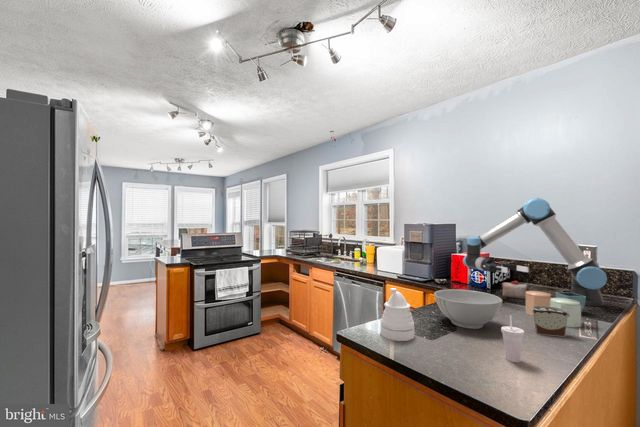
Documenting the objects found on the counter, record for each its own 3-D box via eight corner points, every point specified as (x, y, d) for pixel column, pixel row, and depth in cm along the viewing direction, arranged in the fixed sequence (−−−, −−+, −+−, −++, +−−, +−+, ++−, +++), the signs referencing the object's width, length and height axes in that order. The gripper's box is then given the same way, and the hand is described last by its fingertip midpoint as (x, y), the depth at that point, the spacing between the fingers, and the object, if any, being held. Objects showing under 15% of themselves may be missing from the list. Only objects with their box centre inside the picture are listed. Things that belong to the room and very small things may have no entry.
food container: (563, 332, 122) (562, 307, 122) (569, 337, 116) (569, 311, 117) (527, 328, 126) (527, 304, 126) (532, 333, 120) (531, 308, 121)
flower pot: (573, 310, 153) (573, 292, 154) (587, 315, 145) (586, 296, 145) (555, 309, 154) (554, 291, 155) (567, 314, 146) (567, 296, 146)
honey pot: (395, 343, 110) (395, 293, 110) (374, 331, 121) (374, 286, 122) (421, 337, 116) (421, 290, 116) (398, 326, 127) (398, 284, 128)
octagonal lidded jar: (536, 310, 153) (536, 290, 153) (556, 316, 143) (556, 294, 144) (521, 311, 150) (520, 291, 151) (540, 317, 141) (540, 296, 141)
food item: (500, 296, 181) (500, 280, 181) (503, 294, 187) (503, 278, 187) (528, 300, 172) (527, 283, 172) (530, 298, 178) (530, 281, 178)
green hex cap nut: (562, 318, 139) (561, 297, 139) (586, 326, 129) (585, 302, 130) (545, 320, 136) (545, 298, 137) (568, 328, 127) (568, 304, 127)
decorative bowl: (424, 324, 131) (423, 296, 131) (447, 311, 150) (446, 286, 151) (493, 340, 112) (493, 308, 113) (509, 323, 132) (508, 295, 132)
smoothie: (496, 355, 100) (496, 313, 100) (515, 355, 100) (514, 312, 101) (510, 364, 93) (510, 319, 94) (530, 364, 94) (529, 318, 94)
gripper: (502, 270, 181) (536, 276, 161) (468, 271, 175) (498, 278, 154) (502, 257, 182) (536, 262, 161) (468, 258, 175) (498, 263, 155)
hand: (517, 270), depth 158 cm, fingers open, 13 cm apart
